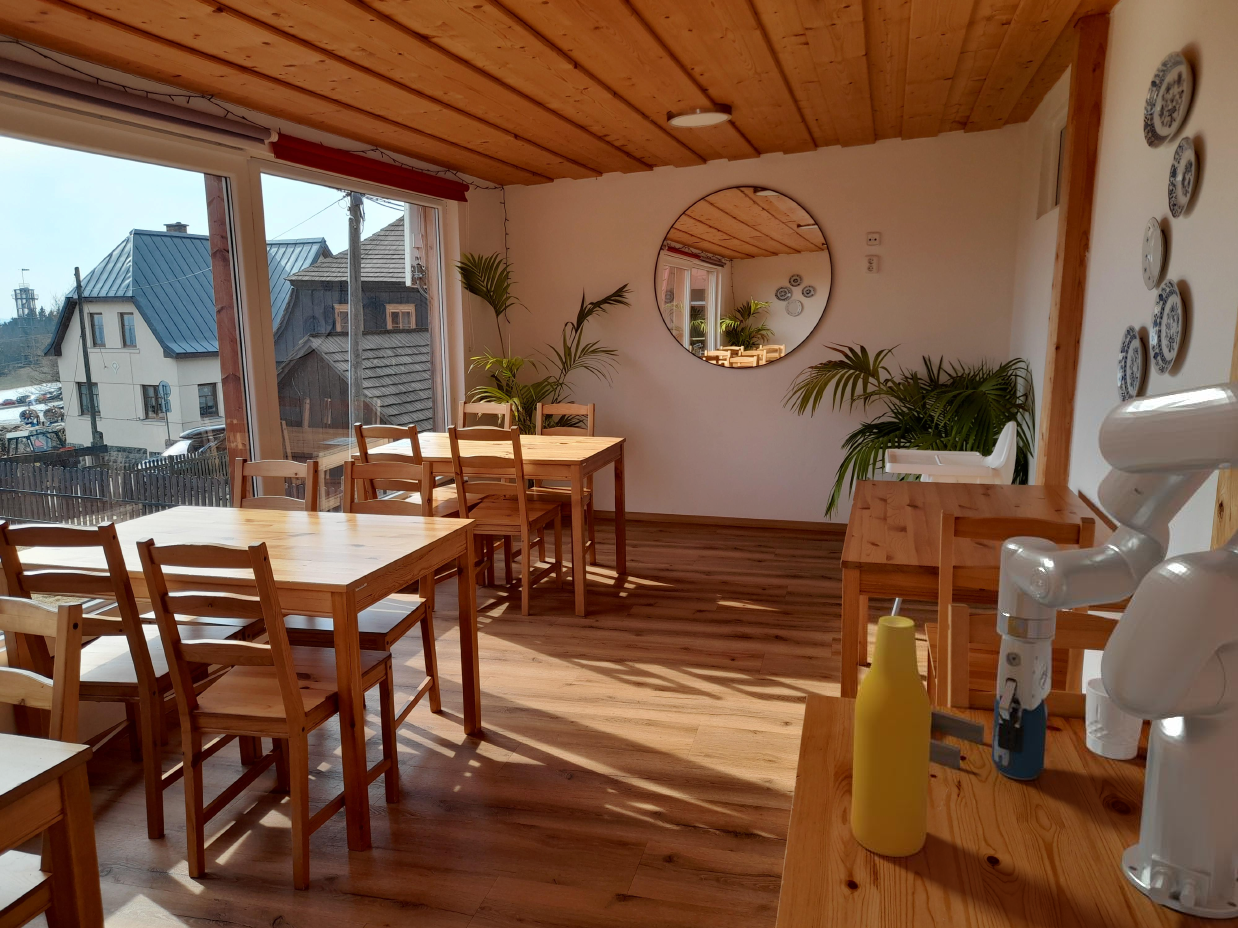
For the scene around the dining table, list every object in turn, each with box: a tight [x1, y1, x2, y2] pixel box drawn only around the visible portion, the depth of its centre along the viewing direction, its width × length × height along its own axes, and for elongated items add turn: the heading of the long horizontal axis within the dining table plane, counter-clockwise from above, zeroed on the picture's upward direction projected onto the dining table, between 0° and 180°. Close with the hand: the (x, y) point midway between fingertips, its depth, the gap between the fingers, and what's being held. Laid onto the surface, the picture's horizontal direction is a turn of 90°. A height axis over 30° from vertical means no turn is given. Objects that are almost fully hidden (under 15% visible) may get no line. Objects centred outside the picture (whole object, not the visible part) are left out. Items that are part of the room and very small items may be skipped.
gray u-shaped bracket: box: [929, 708, 985, 770], centre depth 131 cm, size 11×9×3 cm
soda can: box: [991, 696, 1048, 781], centre depth 123 cm, size 7×7×12 cm
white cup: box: [1085, 677, 1144, 761], centre depth 129 cm, size 8×8×10 cm
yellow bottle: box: [850, 615, 932, 858], centre depth 106 cm, size 9×9×29 cm
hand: (1018, 739), depth 123 cm, fingers closed on soda can, 6 cm apart
